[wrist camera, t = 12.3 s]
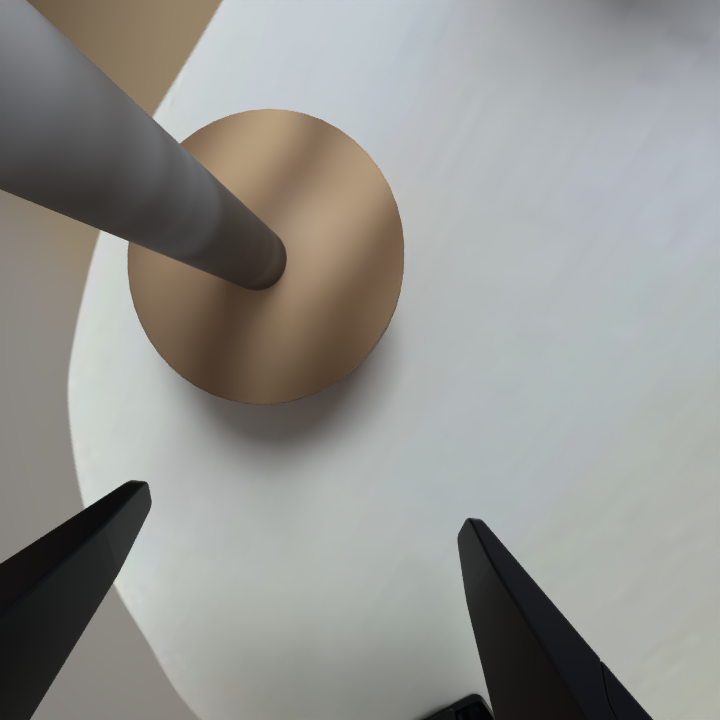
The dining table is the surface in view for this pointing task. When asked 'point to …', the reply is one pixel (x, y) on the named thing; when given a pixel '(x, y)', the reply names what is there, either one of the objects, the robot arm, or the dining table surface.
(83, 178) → the walnut lid
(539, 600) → the robot arm
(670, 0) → the dining table surface
